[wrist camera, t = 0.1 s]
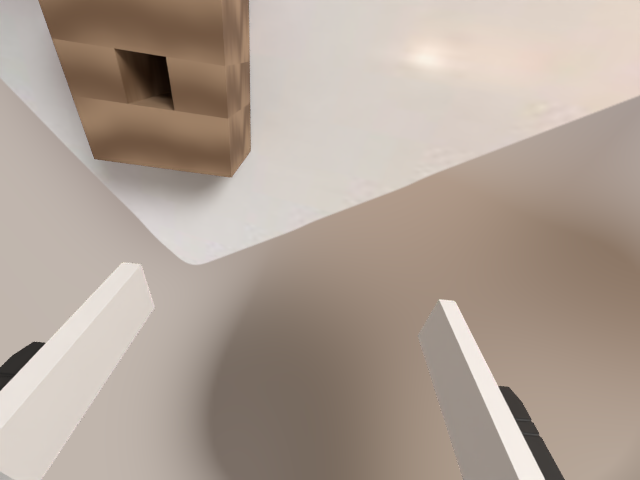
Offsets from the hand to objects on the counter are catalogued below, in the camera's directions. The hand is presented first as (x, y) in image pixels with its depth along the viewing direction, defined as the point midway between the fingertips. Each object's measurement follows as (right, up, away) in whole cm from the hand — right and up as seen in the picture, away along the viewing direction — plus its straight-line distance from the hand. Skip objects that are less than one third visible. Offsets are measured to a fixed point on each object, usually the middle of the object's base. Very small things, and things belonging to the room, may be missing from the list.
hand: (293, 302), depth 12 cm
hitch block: (-14, +22, +19) cm, 32 cm away
